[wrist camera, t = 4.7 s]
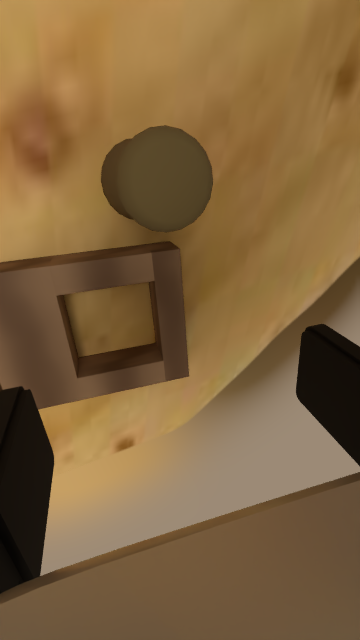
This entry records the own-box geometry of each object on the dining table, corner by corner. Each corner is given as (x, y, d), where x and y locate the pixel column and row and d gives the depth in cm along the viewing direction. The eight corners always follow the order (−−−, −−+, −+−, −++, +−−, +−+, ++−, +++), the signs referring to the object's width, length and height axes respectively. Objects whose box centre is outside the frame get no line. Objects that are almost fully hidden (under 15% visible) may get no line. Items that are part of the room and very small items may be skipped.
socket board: (169, 241, 28) (179, 249, 25) (179, 357, 33) (188, 376, 30) (-121, 277, 23) (-153, 292, 20) (-58, 406, 28) (-75, 433, 25)
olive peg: (176, 219, 27) (225, 242, 18) (104, 221, 26) (114, 247, 16) (176, 139, 25) (234, 113, 15) (97, 135, 23) (103, 105, 14)
